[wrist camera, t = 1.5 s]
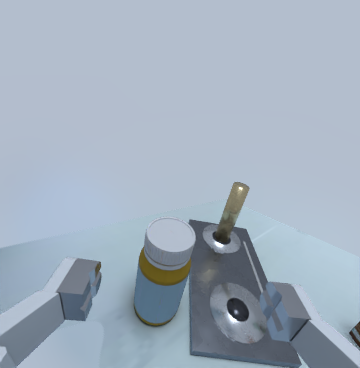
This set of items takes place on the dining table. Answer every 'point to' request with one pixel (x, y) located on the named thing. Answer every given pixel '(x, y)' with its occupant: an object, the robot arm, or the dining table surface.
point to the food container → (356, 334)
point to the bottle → (163, 269)
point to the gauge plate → (231, 293)
